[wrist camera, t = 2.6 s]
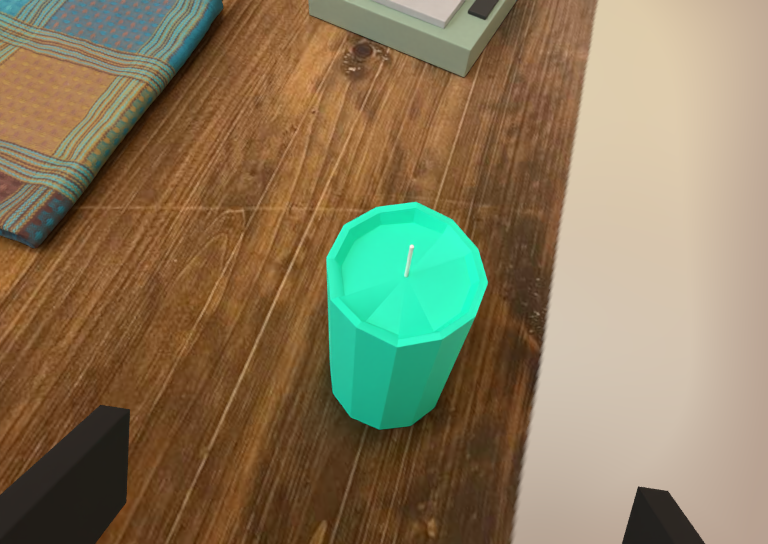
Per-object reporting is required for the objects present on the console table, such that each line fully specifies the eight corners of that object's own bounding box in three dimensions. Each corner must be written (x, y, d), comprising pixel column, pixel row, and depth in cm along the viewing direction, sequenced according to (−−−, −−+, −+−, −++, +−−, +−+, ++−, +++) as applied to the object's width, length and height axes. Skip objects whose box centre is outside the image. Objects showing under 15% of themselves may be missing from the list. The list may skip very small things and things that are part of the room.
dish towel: (235, 10, 45) (230, -21, 42) (46, 256, 33) (26, 230, 31) (34, -46, 46) (19, -79, 44) (-212, 166, 35) (-249, 136, 32)
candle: (339, 312, 32) (340, 167, 22) (448, 329, 32) (500, 190, 22) (319, 420, 29) (308, 310, 19) (439, 438, 29) (495, 337, 19)
